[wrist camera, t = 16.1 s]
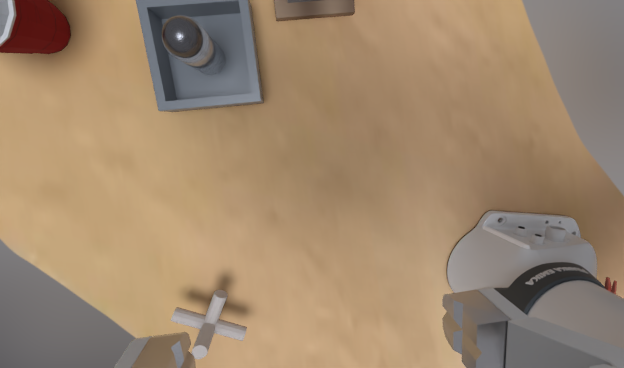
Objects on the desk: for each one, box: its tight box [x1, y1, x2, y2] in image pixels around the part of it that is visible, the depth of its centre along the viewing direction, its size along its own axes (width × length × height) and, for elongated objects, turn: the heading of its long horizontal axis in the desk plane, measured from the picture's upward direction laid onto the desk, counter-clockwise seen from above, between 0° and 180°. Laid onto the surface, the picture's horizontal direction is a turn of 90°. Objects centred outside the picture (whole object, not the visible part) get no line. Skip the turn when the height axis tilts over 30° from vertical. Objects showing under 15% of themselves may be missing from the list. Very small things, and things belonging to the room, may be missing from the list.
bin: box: [136, 0, 264, 112], centre depth 36 cm, size 12×12×5 cm
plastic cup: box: [0, 0, 70, 54], centre depth 31 cm, size 11×11×12 cm
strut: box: [162, 15, 226, 75], centre depth 32 cm, size 4×4×12 cm
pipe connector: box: [171, 290, 247, 359], centre depth 41 cm, size 10×10×10 cm
